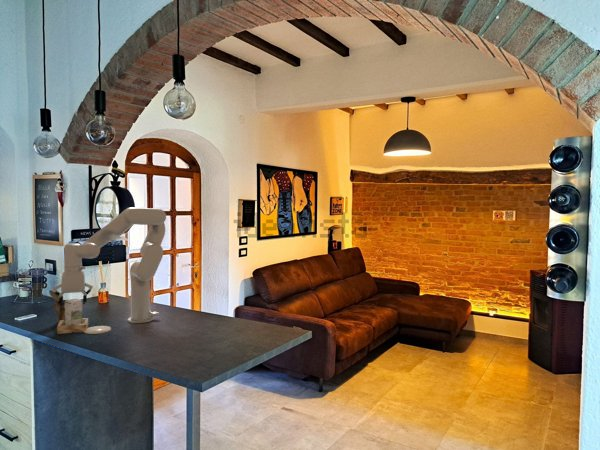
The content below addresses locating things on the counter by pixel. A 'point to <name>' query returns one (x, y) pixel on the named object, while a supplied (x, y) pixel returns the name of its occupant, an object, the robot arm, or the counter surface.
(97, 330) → the cream shiny round part
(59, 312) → the wooden mug
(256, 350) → the counter surface
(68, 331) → the oak collar
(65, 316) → the syrup box
